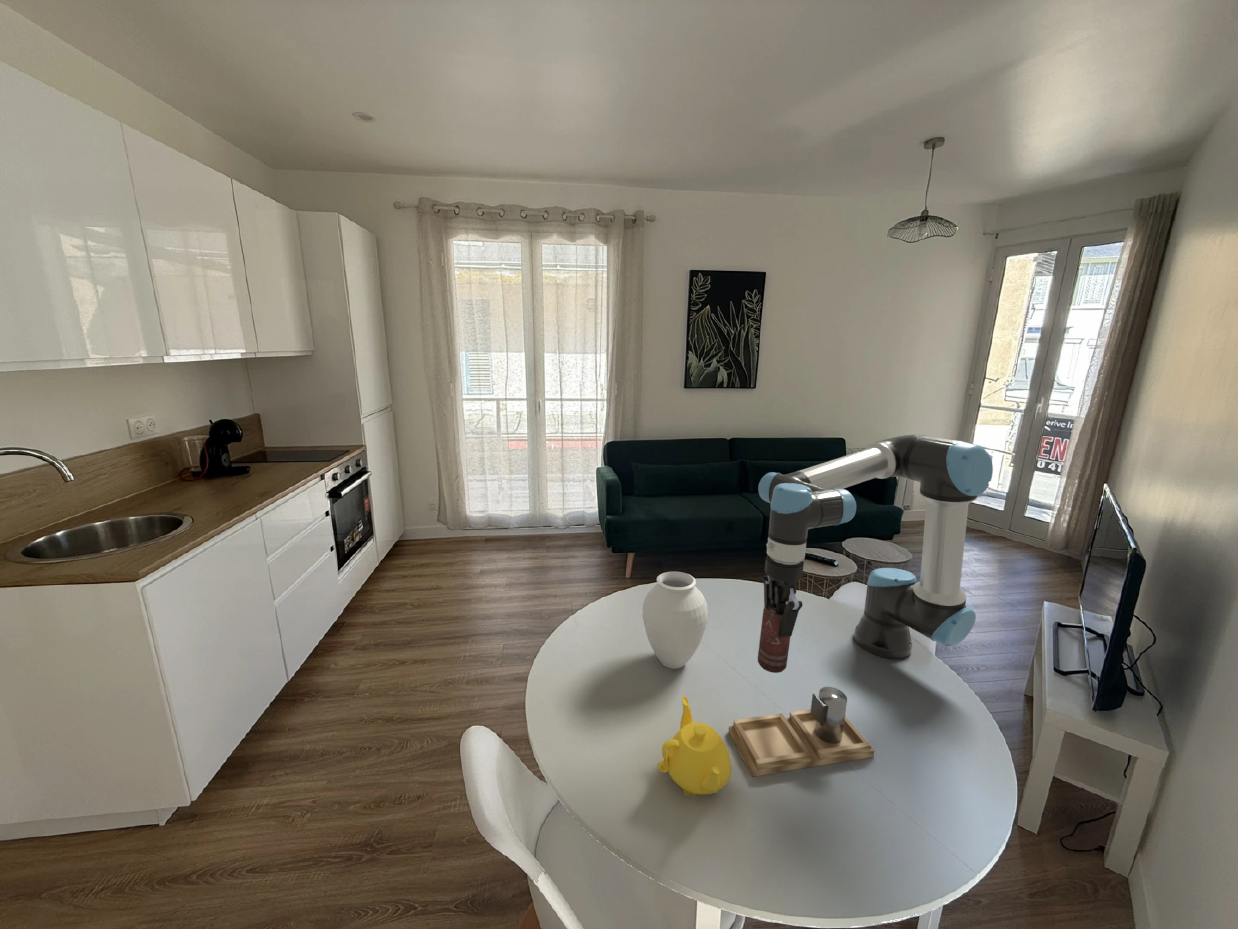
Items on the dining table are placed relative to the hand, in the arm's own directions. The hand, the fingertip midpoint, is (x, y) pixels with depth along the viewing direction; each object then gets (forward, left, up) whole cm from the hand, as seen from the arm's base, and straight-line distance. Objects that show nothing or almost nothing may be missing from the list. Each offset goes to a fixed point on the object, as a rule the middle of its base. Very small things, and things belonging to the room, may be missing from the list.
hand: (774, 657), depth 105 cm
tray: (-5, +5, -19) cm, 21 cm away
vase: (+14, -28, -20) cm, 37 cm away
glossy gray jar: (-12, +5, -18) cm, 22 cm away
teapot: (+21, +9, -20) cm, 30 cm away
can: (0, 0, -2) cm, 2 cm away
